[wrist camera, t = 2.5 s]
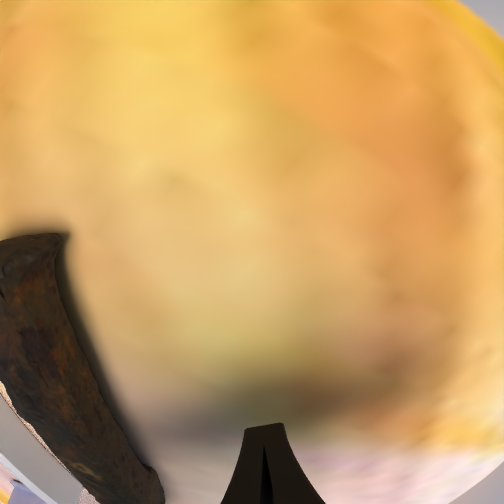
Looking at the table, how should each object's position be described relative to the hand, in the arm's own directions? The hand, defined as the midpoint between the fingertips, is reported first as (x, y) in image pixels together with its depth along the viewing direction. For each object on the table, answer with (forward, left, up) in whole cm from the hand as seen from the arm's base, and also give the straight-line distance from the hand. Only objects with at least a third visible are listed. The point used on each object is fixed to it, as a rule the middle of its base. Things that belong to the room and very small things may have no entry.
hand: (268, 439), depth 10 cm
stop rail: (-16, 0, -1) cm, 16 cm away
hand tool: (-7, 0, -2) cm, 7 cm away
